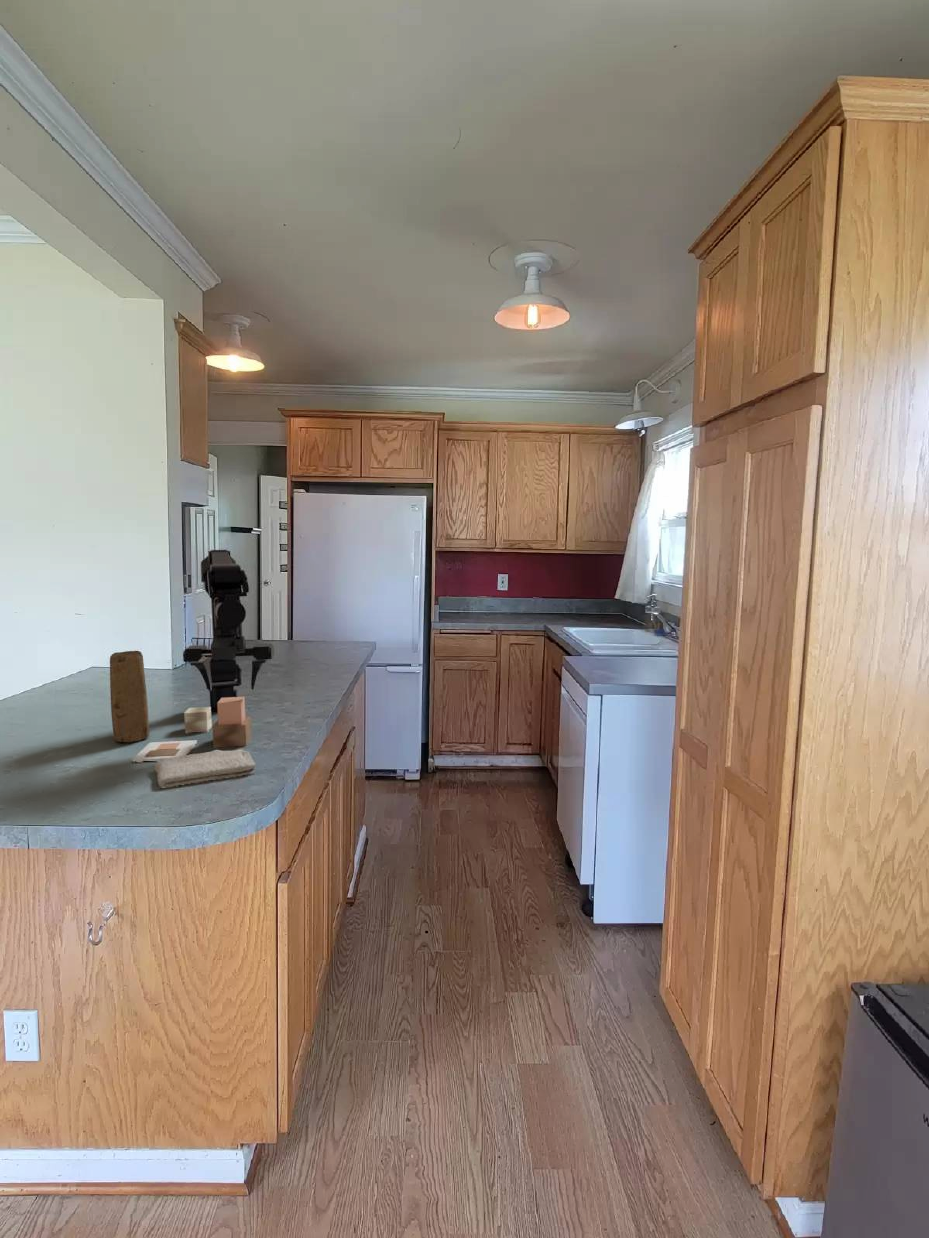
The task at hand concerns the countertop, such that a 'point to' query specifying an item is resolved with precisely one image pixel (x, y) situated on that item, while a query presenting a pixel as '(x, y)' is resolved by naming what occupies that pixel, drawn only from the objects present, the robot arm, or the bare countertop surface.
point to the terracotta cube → (231, 710)
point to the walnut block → (232, 734)
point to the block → (128, 697)
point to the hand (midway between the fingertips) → (231, 690)
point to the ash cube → (198, 719)
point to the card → (165, 750)
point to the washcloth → (203, 767)
